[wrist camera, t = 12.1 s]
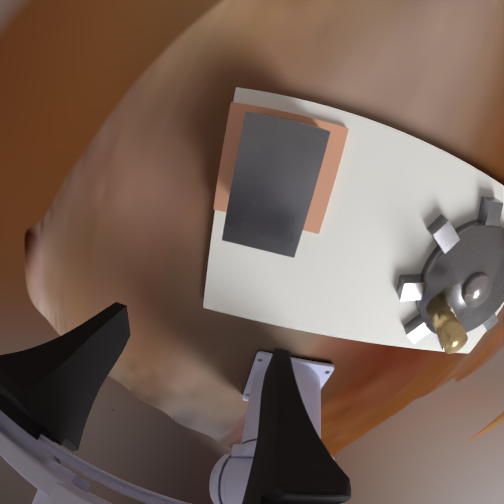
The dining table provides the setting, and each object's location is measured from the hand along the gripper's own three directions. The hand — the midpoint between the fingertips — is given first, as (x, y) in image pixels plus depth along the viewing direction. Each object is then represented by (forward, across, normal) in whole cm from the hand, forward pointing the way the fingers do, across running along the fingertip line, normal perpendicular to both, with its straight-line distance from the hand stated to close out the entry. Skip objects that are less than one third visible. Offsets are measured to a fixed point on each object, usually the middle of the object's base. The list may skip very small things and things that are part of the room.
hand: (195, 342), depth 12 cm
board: (+10, -13, -3) cm, 16 cm away
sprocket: (+9, -20, -3) cm, 22 cm away
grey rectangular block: (+8, -2, -7) cm, 11 cm away
